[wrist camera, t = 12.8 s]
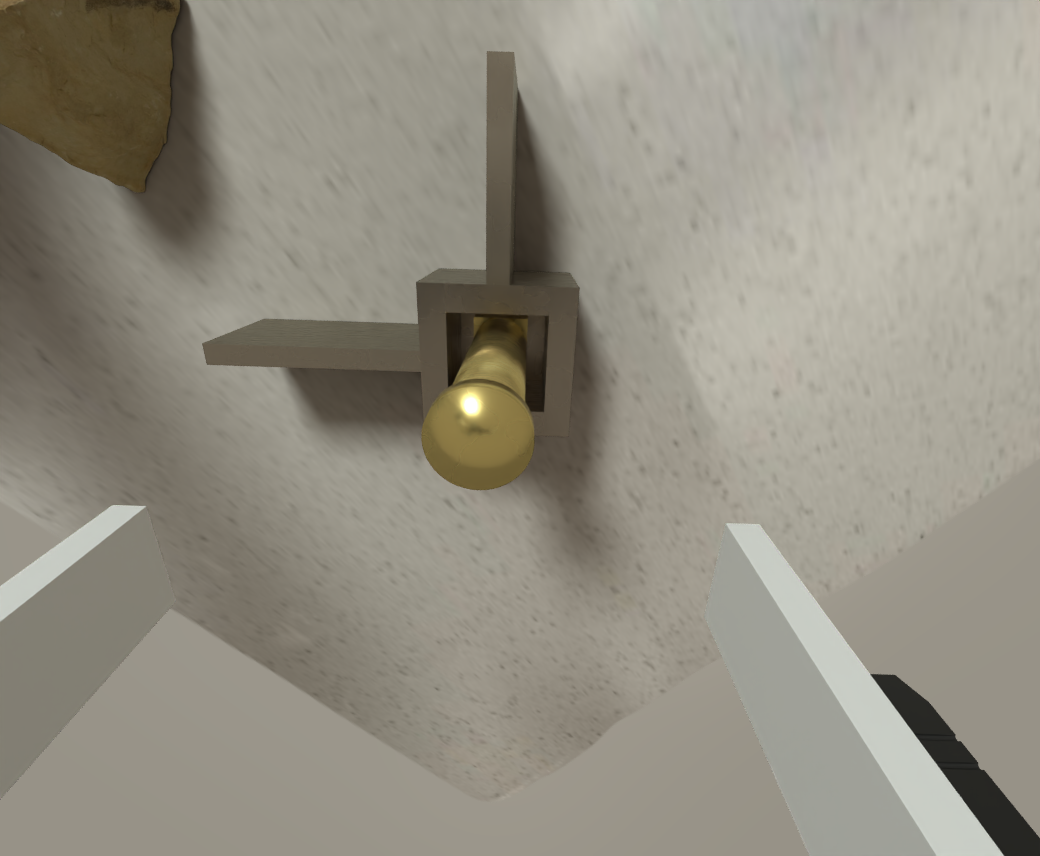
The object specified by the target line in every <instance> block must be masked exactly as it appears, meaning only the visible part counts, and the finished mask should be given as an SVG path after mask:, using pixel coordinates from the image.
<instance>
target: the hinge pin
mask: <svg viewBox="0 0 1040 856" xmlns="http://www.w3.org/2000/svg"><path fill="white" fill-rule="evenodd" d="M527 327H528V315H502V314H475V316H474V339H473V341H472V343H471V345H470V348H469V350H468V352H467V354H466V356H465V359H464V361H463V363H462V365H461V367H460V370H459V372H458V374H457V376H456V378H455V381H454V383H453V385H451V386H450V387H448V388H446V389H445V390H444V391H443V392H442V393H441V394H440V395H439V396H438V397H437V398H436V399H435V401H434V402H433V404H432V406H431V408H430V410H429V412H428V414H427V416H426V418H425V420H424V423H423V427H422V438H421V439H422V446H423V450H424V453H425V456H426V458H427V460H428V461H429V463H430V465H431V466H432V467H433V469H434V470H435V471H436V472H437V473H438V474H439V475H440V476H442V477H443V478H444V479H446V480H447V481H449V482H450V483H452V484H455V485H457V486H460V487H463V488H467V489H472V490H488V489H494V488H498V487H501V486H503V485H506V484H508V483H509V482H511V481H513V480H514V479H515V478H517V477H518V476H519V475H520V474H521V473H522V472H523V471H524V469H525V468H526V467H527V465H528V463H529V462H530V459H531V457H532V454H533V450H534V422H533V418H532V414H531V412H530V410H529V408H528V406H527V404H526V403H525V385H526V354H527Z"/></svg>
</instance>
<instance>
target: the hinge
mask: <svg viewBox="0 0 1040 856" xmlns="http://www.w3.org/2000/svg"><path fill="white" fill-rule="evenodd" d="M517 105H518V84H517V75H516V66H515V56H514V52H493V51H487V201H486V270H469V269H437V270H436V271H434V272H432V273H431V274H429V275H427V276H426V277H424V278H422V279H421V280H419V281H418V282H416V288H417V308H418V324H403V323H373V322H343V321H313V320H284V319H262V320H260V321H257V322H255V323H252V324H250V325H247V326H245V327H242V328H240V329H237V330H235V331H232V332H230V333H227V334H225V335H222V336H220V337H217V338H215V339H212V340H210V341H207V342H205V343H202V345H203V349H204V354H205V358H206V363H207V365H232V366H261V367H290V368H319V369H349V370H378V371H407V372H421V388H422V408H423V423H424V420H425V418H426V416H427V414H428V412H429V410H430V408H431V406H432V404H433V402H434V401H435V399H436V398H437V397H438V396H439V395H440V394H441V393H442V392H443V391H444V390H445V389H446V388H448V387H450V386H451V385H453V383H454V381H455V378H456V376H457V374H458V372H459V370H460V367H461V365H462V363H463V361H464V359H465V356H466V354H467V352H468V350H469V348H470V345H471V343H472V341H473V339H474V316H475V314H502V315H528V327H527V354H526V385H525V403H526V404H527V406H528V408H529V410H530V412H531V414H532V418H533V422H534V436H557V437H569V424H570V410H571V396H572V383H573V369H574V356H575V342H576V329H577V315H578V302H579V286H578V285H577V283H576V281H575V280H574V278H573V277H572V275H571V274H570V273H560V272H530V271H514V233H515V190H516V147H517Z"/></svg>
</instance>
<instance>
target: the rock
mask: <svg viewBox="0 0 1040 856" xmlns="http://www.w3.org/2000/svg"><path fill="white" fill-rule="evenodd" d="M179 10H180V0H0V124H2V125H4V126H6V127H8V128H10V129H12V130H14V131H16V132H18V133H20V134H21V135H23V136H25V137H26V138H28V139H29V140H31V141H33V142H35V143H38V144H40V145H42V146H44V147H45V148H46V149H48V150H49V151H51V152H53V153H55V154H57V155H58V156H60V157H61V158H62V159H64V160H65V161H66V162H68V163H69V164H71V165H73V166H75V167H78V168H80V169H83V170H85V171H87V172H90V173H92V174H95V175H98V176H102V177H104V178H106V179H108V180H110V181H111V182H113V183H114V184H116V185H118V186H124V187H126V188H128V189H130V190H131V191H133V192H136V193H139V192H144V191H145V189H146V186H145V178H146V177H147V175H148V173H149V171H150V169H151V167H152V165H153V162H154V160H155V159H157V157H158V156H159V154H160V151H161V149H162V146H163V144H165V143H166V142H167V126H168V121H169V117H170V114H171V107H170V101H171V88H170V79H171V74H170V72H171V71H172V69H173V52H172V48H171V34H172V32H173V29H174V27H175V24H176V18H177V16H178V14H179Z"/></svg>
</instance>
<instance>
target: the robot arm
mask: <svg viewBox="0 0 1040 856" xmlns="http://www.w3.org/2000/svg"><path fill="white" fill-rule="evenodd" d="M175 602H176V599H175V595H174V592H173V589H172V586H171V583H170V579H169V576H168V573H167V570H166V567H165V564H164V560H163V557H162V554H161V551H160V548H159V545H158V541H157V538H156V535H155V532H154V529H153V526H152V522H151V519H150V516H149V513H148V510H147V507H146V506H124V505H112V506H111V507H109V508H108V509H106V510H105V511H104V512H102V513H101V514H99V515H98V516H97V517H95V518H94V519H93V520H91V521H90V522H88V523H87V524H86V525H84V526H83V527H82V528H80V529H79V530H77V531H76V532H75V533H73V534H72V535H70V536H69V537H68V538H66V539H65V540H64V541H62V542H61V543H60V544H58V545H57V546H55V547H54V548H53V549H51V550H50V551H48V552H47V553H46V554H44V555H43V556H41V557H40V558H39V559H38V560H36V561H35V562H33V563H32V564H30V565H29V566H28V567H26V568H25V569H24V570H22V571H21V572H20V573H18V574H17V575H15V576H14V577H12V578H11V579H10V580H8V581H7V582H6V583H4V584H3V585H1V586H0V800H1V798H2V797H3V796H4V795H5V794H6V792H8V791H9V789H10V788H11V787H12V786H13V785H14V784H15V783H16V781H17V780H18V779H19V778H20V777H21V776H22V775H23V774H24V772H25V771H26V770H27V769H28V768H29V767H30V766H31V765H32V763H33V762H34V761H35V760H36V759H37V758H38V757H39V755H40V754H41V753H42V752H43V751H44V750H45V749H46V748H47V746H48V745H49V744H50V743H51V742H52V741H53V740H54V738H55V737H56V736H57V735H58V734H59V733H60V732H61V730H62V729H63V728H64V727H65V726H66V725H67V724H68V723H69V722H70V720H71V719H72V718H73V717H74V716H75V715H76V714H77V713H78V711H79V710H80V709H81V708H82V707H83V706H84V705H85V703H86V702H87V701H88V700H89V699H90V698H91V697H92V696H93V694H94V693H95V692H96V691H97V690H98V689H99V687H100V686H101V685H102V684H103V683H104V682H105V681H106V680H107V679H108V677H109V676H110V675H111V674H112V673H113V672H114V671H115V669H116V668H117V667H118V666H119V665H120V664H121V663H122V662H123V660H124V659H125V658H126V657H127V656H128V655H129V654H130V652H131V651H132V650H133V649H134V648H135V647H136V646H137V645H138V644H139V642H140V641H141V640H142V639H143V638H144V637H145V636H146V635H147V633H148V632H149V631H150V630H151V629H152V628H153V627H154V626H155V624H156V623H157V622H158V621H159V620H160V619H161V618H162V616H163V615H164V614H165V613H166V612H167V611H168V610H169V609H170V607H171V606H172V605H173V604H174V603H175ZM704 617H705V619H706V621H707V624H708V626H709V628H710V630H711V633H712V635H713V637H714V640H715V642H716V644H717V646H718V649H719V651H720V653H721V656H722V658H723V660H724V662H725V665H726V667H727V669H728V672H729V674H730V676H731V678H732V681H733V683H734V685H735V688H736V690H737V692H738V694H739V697H740V699H741V701H742V704H743V706H744V708H745V710H746V713H747V715H748V717H749V719H750V722H751V724H752V726H753V729H754V731H755V733H756V735H757V738H758V740H759V742H760V744H761V747H762V749H763V751H764V753H765V756H766V758H767V760H768V763H769V765H770V767H771V769H772V772H773V774H774V777H775V779H776V781H777V783H778V786H779V788H780V790H781V792H782V795H783V797H784V799H785V801H786V804H787V806H788V808H789V810H790V813H791V815H792V818H793V820H794V822H795V824H796V827H797V829H798V831H799V834H800V836H801V838H802V840H803V843H804V845H805V847H806V850H807V852H808V854H809V856H1040V838H1039V837H1038V835H1037V834H1036V833H1035V832H1034V831H1033V829H1032V828H1031V827H1030V826H1029V825H1028V823H1027V822H1026V821H1025V820H1024V818H1023V817H1022V816H1021V815H1020V813H1019V812H1018V811H1017V810H1016V808H1015V807H1014V806H1013V805H1012V804H1011V802H1010V801H1009V800H1008V799H1007V797H1006V796H1005V795H1004V794H1003V793H1002V791H1001V790H1000V789H999V788H998V786H997V785H996V784H995V783H994V782H993V780H992V779H991V778H990V777H989V775H988V774H987V773H986V772H985V771H984V770H981V769H980V768H979V767H978V762H977V761H976V760H975V758H974V757H973V756H972V755H971V753H970V752H969V751H968V750H967V748H966V747H965V746H964V745H963V744H962V742H961V741H957V740H956V738H955V734H954V732H953V731H952V730H951V729H950V728H949V726H948V725H947V724H946V723H945V721H944V720H943V719H942V718H941V717H940V715H939V714H938V713H937V712H936V710H935V709H934V708H933V707H932V706H931V704H930V703H929V702H928V701H927V700H925V699H924V698H923V697H922V696H920V695H919V694H918V693H917V692H915V691H914V690H913V689H912V688H910V687H909V686H908V685H907V684H905V683H904V682H903V681H901V680H900V679H899V678H898V677H897V676H896V675H878V674H869V672H868V671H867V670H866V668H865V667H864V665H863V664H862V663H861V661H860V660H859V659H858V657H857V656H856V655H855V653H854V652H853V651H852V649H851V648H850V647H849V645H848V644H847V643H846V641H845V640H844V638H843V637H842V636H841V634H840V633H839V632H838V630H837V629H836V628H835V626H834V625H833V623H832V622H831V621H830V620H829V618H828V617H827V615H826V614H825V613H824V611H823V610H822V609H821V607H820V606H819V605H818V603H817V602H816V600H815V599H814V598H813V596H812V595H811V594H810V592H809V591H808V590H807V588H806V587H805V586H804V584H803V583H802V582H801V580H800V579H799V577H798V576H797V575H796V573H795V572H794V571H793V569H792V568H791V567H790V565H789V564H788V563H787V561H786V560H785V558H784V557H783V556H782V554H781V553H780V552H779V550H778V549H777V548H776V546H775V545H774V544H773V542H772V541H771V540H770V538H769V537H768V535H767V534H766V533H765V531H764V530H763V529H762V527H761V526H760V525H759V524H731V523H726V524H725V528H724V533H723V537H722V541H721V546H720V550H719V554H718V559H717V563H716V567H715V572H714V576H713V580H712V585H711V589H710V593H709V598H708V602H707V606H706V611H705V615H704Z"/></svg>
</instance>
